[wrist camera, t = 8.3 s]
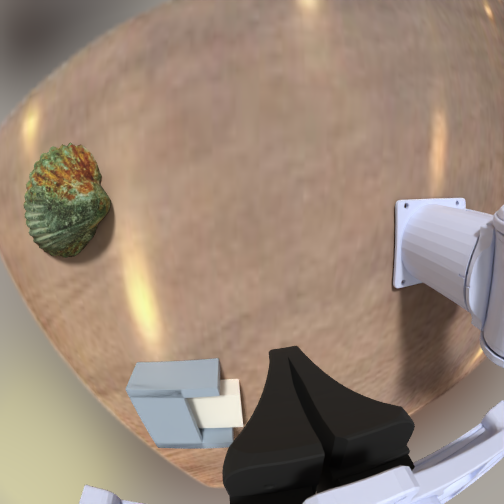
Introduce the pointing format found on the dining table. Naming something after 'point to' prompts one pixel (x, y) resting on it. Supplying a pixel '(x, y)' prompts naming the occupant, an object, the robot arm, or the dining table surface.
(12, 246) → the dining table surface
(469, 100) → the dining table surface
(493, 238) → the robot arm
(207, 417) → the cream rectangular block
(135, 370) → the bracket
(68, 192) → the seashell
